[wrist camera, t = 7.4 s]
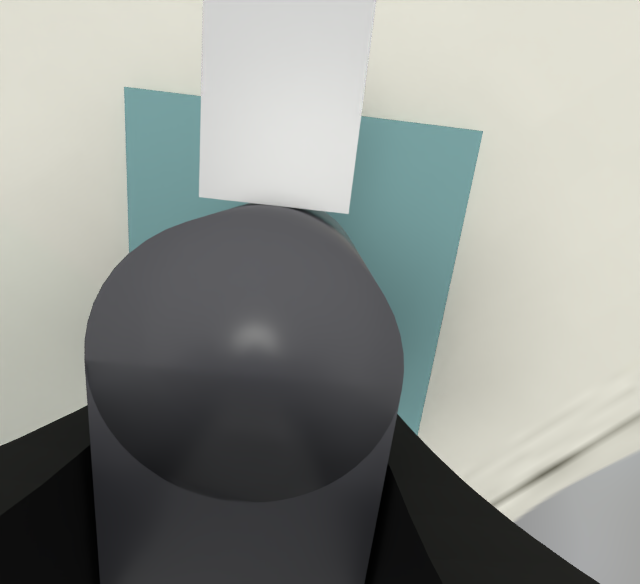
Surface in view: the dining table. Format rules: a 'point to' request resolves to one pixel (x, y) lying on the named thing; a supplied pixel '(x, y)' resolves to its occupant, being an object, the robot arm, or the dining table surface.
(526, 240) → the dining table surface
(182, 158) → the charging mat
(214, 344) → the cylinder
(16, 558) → the robot arm
